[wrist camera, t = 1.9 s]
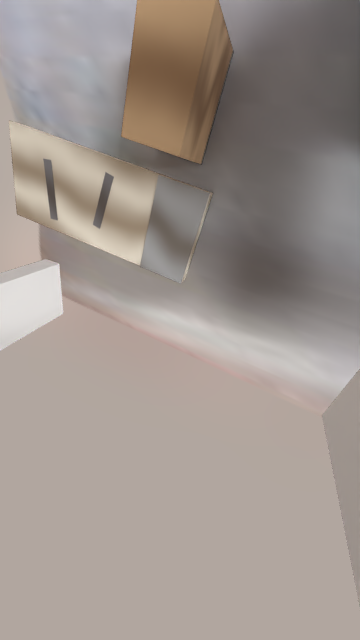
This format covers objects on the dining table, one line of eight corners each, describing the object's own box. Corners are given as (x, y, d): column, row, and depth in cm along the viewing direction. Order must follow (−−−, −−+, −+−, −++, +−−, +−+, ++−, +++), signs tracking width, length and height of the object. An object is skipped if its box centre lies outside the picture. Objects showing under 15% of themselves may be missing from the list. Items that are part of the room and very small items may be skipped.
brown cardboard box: (178, 37, 20) (140, -24, 14) (233, 52, 20) (217, -5, 14) (156, 148, 25) (121, 136, 19) (201, 164, 24) (179, 156, 18)
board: (20, 123, 28) (6, 120, 26) (212, 192, 25) (209, 193, 23) (26, 213, 33) (15, 214, 32) (185, 279, 30) (180, 283, 29)
